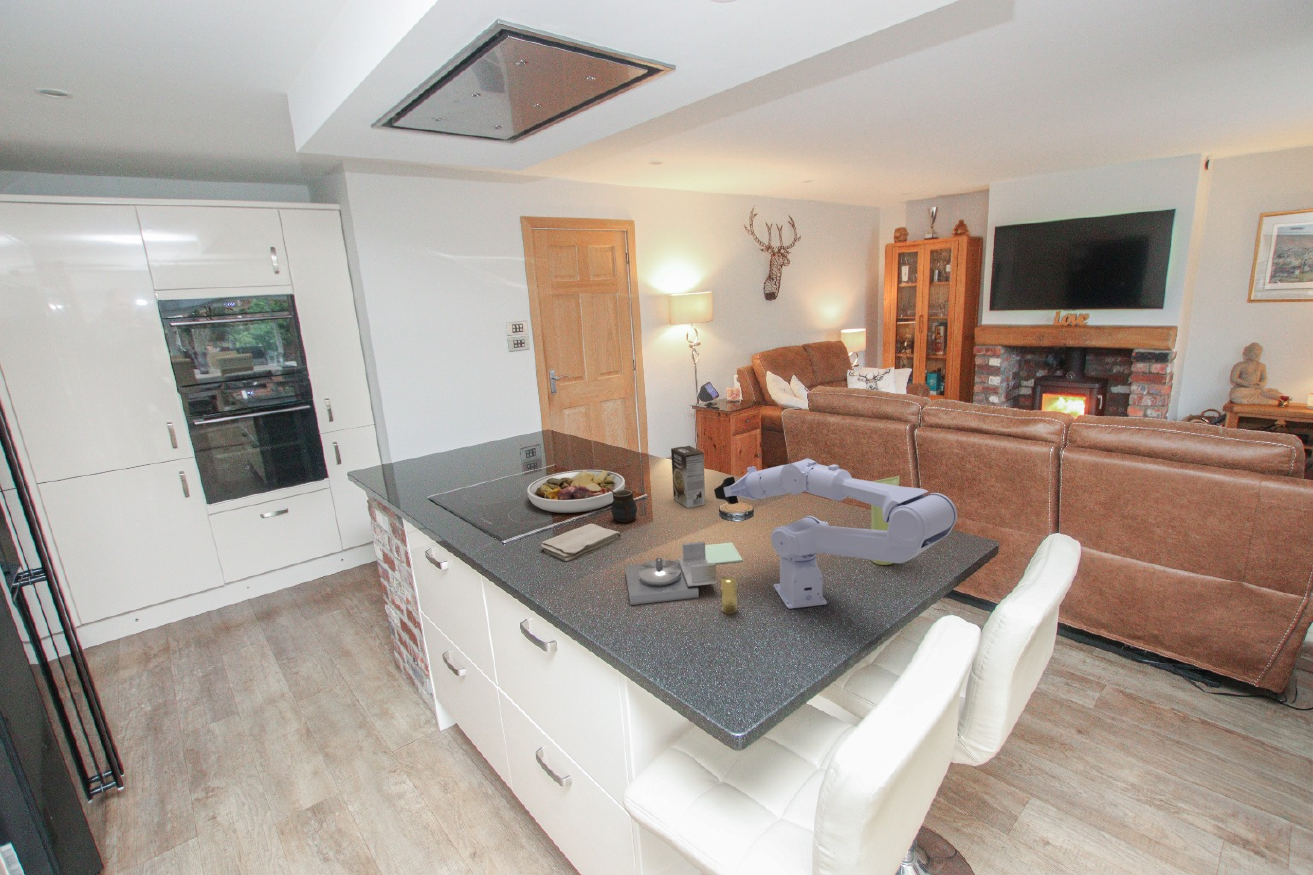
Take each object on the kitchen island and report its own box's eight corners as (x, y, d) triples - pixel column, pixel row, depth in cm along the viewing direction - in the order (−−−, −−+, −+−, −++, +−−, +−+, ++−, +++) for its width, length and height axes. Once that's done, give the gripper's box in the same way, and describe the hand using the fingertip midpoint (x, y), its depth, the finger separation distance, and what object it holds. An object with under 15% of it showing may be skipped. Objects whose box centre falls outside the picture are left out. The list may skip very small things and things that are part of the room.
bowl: (524, 491, 196) (521, 468, 194) (613, 478, 205) (611, 456, 203) (534, 523, 168) (531, 497, 166) (636, 507, 177) (635, 481, 175)
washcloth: (538, 552, 150) (536, 540, 149) (592, 529, 162) (591, 518, 161) (567, 565, 142) (566, 553, 141) (622, 540, 154) (621, 529, 153)
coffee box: (672, 499, 180) (670, 448, 176) (691, 495, 183) (689, 444, 179) (686, 508, 172) (684, 455, 168) (706, 504, 175) (704, 451, 171)
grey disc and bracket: (641, 591, 121) (640, 573, 120) (636, 564, 133) (635, 547, 132) (716, 583, 123) (716, 565, 122) (704, 557, 135) (703, 540, 134)
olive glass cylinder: (739, 612, 116) (738, 582, 114) (723, 614, 116) (722, 584, 114) (735, 605, 119) (734, 575, 117) (720, 606, 118) (719, 576, 117)
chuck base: (698, 597, 122) (698, 588, 122) (630, 605, 121) (630, 596, 120) (687, 567, 136) (686, 559, 135) (625, 573, 134) (625, 565, 134)
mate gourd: (641, 521, 165) (639, 487, 162) (615, 527, 162) (612, 492, 160) (633, 512, 171) (630, 479, 169) (607, 518, 169) (604, 484, 166)
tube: (892, 568, 130) (895, 483, 125) (867, 564, 132) (870, 480, 128) (896, 558, 135) (899, 475, 130) (872, 554, 137) (875, 473, 132)
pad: (742, 561, 137) (742, 559, 137) (699, 565, 136) (699, 564, 136) (732, 543, 147) (732, 542, 147) (692, 547, 146) (691, 546, 146)
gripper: (790, 458, 127) (749, 468, 138) (739, 468, 119) (700, 478, 130) (798, 490, 126) (756, 498, 137) (747, 503, 118) (707, 510, 130)
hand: (729, 490), depth 134 cm, fingers open, 7 cm apart
